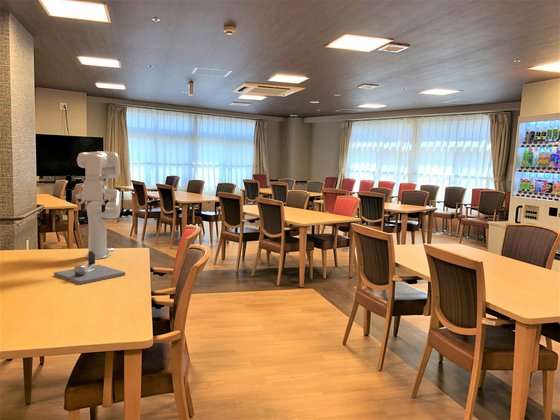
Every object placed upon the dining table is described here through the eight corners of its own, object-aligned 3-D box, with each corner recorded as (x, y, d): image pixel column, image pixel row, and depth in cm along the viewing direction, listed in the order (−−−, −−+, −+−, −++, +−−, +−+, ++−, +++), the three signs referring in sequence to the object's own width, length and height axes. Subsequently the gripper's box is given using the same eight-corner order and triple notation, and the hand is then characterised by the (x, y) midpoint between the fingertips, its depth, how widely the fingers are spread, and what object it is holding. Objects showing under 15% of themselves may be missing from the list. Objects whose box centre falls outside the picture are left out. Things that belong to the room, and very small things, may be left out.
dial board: (98, 267, 222) (98, 264, 222) (125, 275, 209) (125, 271, 209) (54, 275, 203) (54, 271, 203) (80, 284, 190) (80, 280, 190)
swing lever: (82, 275, 197) (83, 259, 197) (72, 275, 197) (72, 259, 196) (97, 265, 217) (97, 251, 216) (88, 265, 217) (88, 250, 216)
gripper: (113, 179, 224) (112, 211, 226) (78, 177, 223) (78, 210, 224) (108, 179, 217) (108, 213, 219) (73, 178, 215) (73, 212, 217)
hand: (93, 211), depth 222 cm, fingers open, 9 cm apart
